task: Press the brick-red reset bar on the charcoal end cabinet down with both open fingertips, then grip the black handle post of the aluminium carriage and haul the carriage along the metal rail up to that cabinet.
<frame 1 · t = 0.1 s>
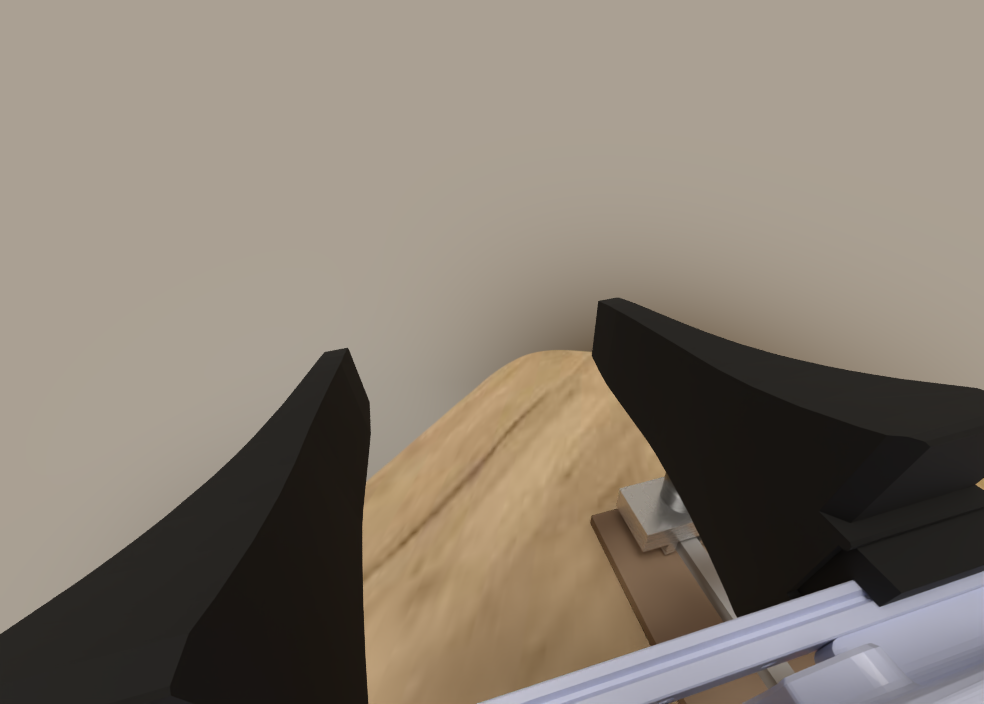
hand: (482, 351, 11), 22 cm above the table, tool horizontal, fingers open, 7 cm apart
rail stand: (742, 648, 21), on the table
carriage: (680, 494, 24), point 5 cm above the table, slide at 9.0 cm
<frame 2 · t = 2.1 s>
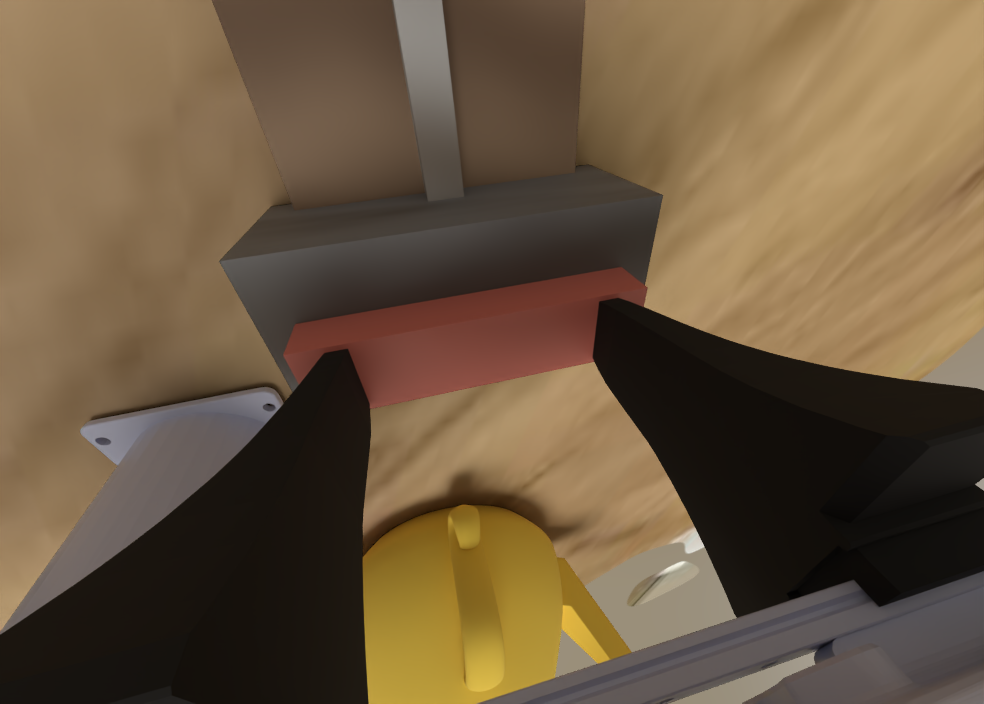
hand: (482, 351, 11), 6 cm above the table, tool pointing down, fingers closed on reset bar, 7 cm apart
rail stand: (417, 45, 11), on the table
reset bar: (476, 339, 11), point 6 cm above the table, slide at -1.3 cm, touching gripper
teapot: (472, 539, 30), on the table
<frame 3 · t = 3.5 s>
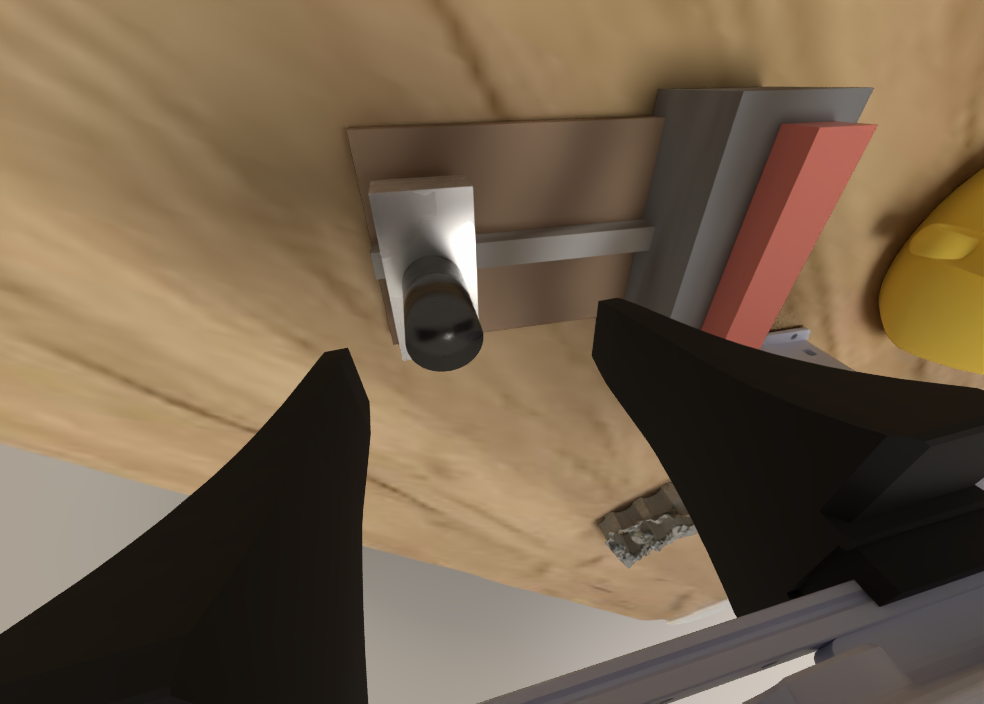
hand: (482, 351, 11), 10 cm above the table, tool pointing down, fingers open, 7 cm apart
egg carton: (643, 506, 41), on the table
rail stand: (560, 231, 19), on the table
reset bar: (766, 259, 16), point 6 cm above the table, slide at -1.3 cm
carriage: (434, 288, 14), point 5 cm above the table, slide at 9.0 cm
teapot: (980, 215, 26), on the table
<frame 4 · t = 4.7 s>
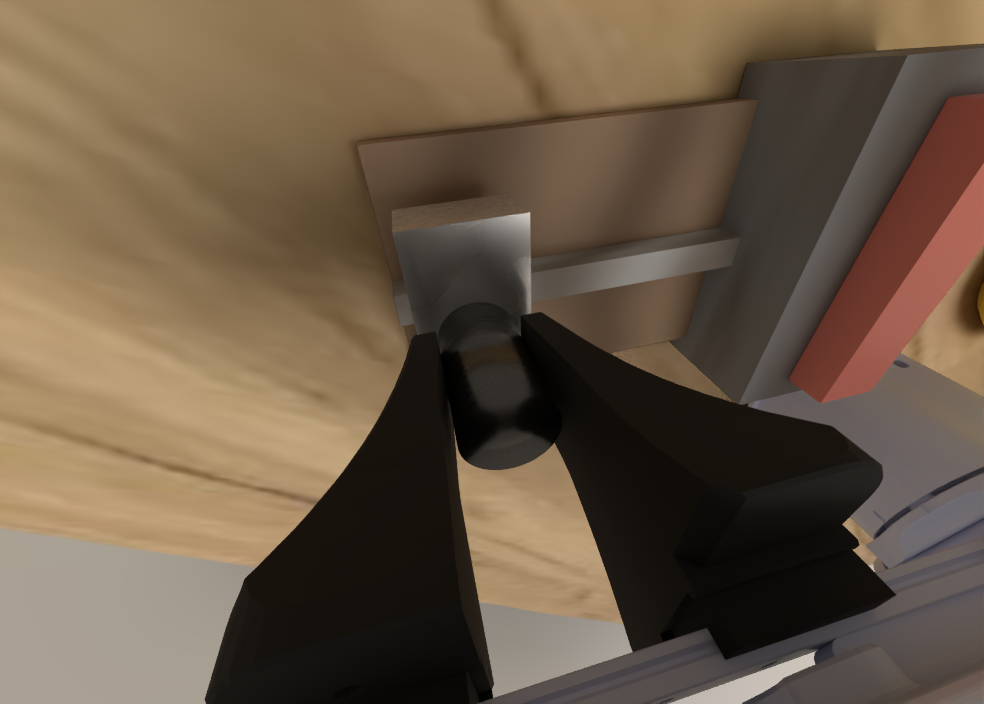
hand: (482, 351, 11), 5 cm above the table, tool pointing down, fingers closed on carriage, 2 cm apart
rail stand: (616, 247, 16), on the table
reset bar: (901, 275, 12), point 6 cm above the table, slide at -1.3 cm
carriage: (479, 343, 11), point 5 cm above the table, slide at 9.0 cm, touching gripper
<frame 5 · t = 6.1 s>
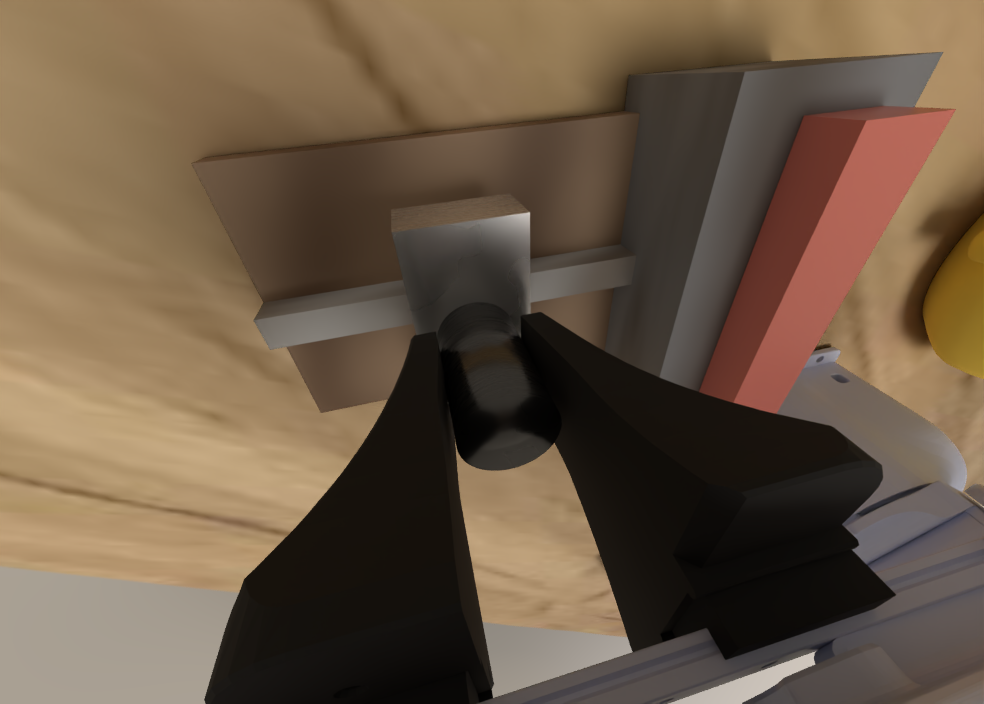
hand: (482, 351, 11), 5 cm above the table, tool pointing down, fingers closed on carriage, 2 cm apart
rail stand: (517, 264, 15), on the table
reset bar: (786, 299, 12), point 6 cm above the table, slide at -1.3 cm
carriage: (478, 343, 11), point 5 cm above the table, slide at 4.5 cm, touching gripper
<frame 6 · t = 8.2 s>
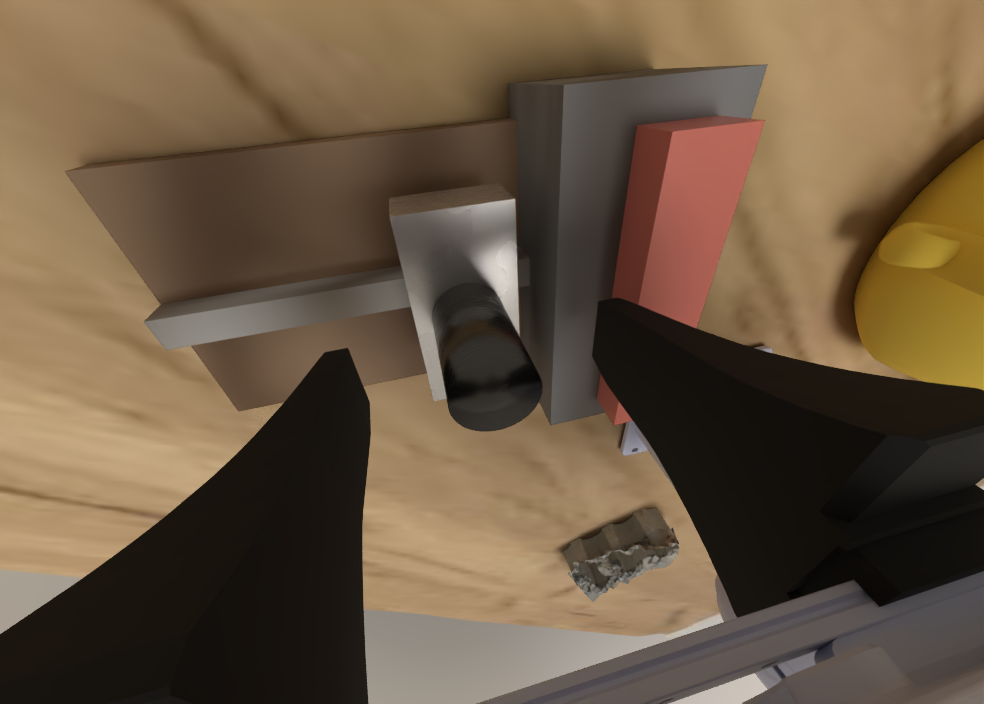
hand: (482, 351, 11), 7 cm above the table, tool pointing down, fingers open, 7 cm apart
egg carton: (612, 533, 37), on the table
rail stand: (424, 266, 16), on the table
reset bar: (656, 300, 12), point 6 cm above the table, slide at -1.3 cm
carriage: (470, 321, 12), point 5 cm above the table, slide at 0.8 cm
teapot: (971, 203, 21), on the table
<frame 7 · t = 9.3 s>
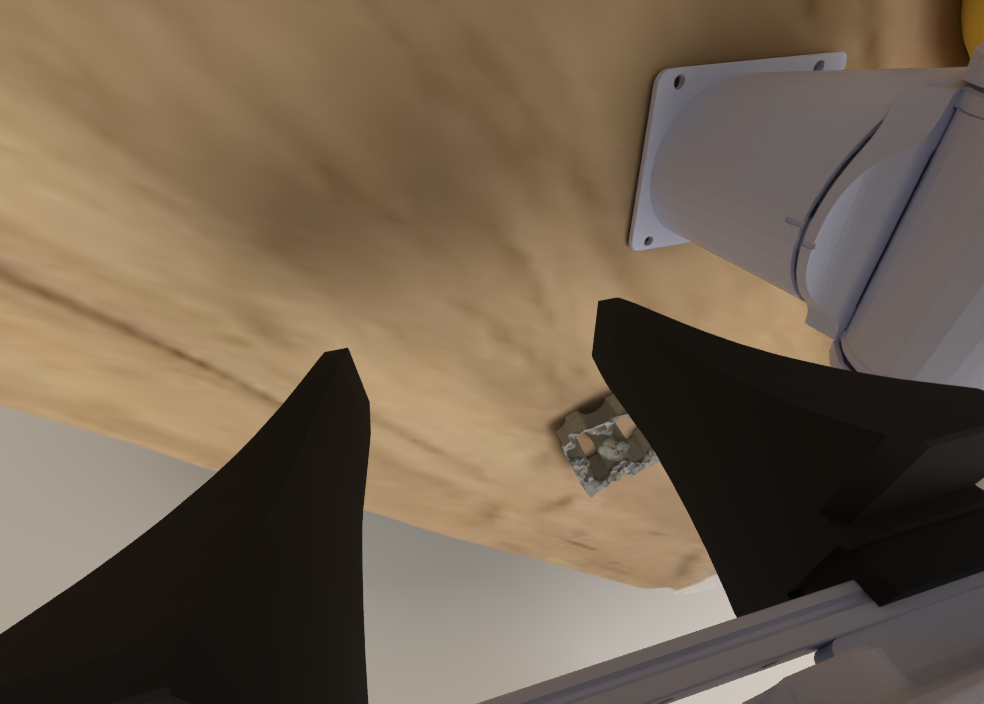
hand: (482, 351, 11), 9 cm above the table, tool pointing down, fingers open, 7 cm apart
egg carton: (617, 415, 30), on the table
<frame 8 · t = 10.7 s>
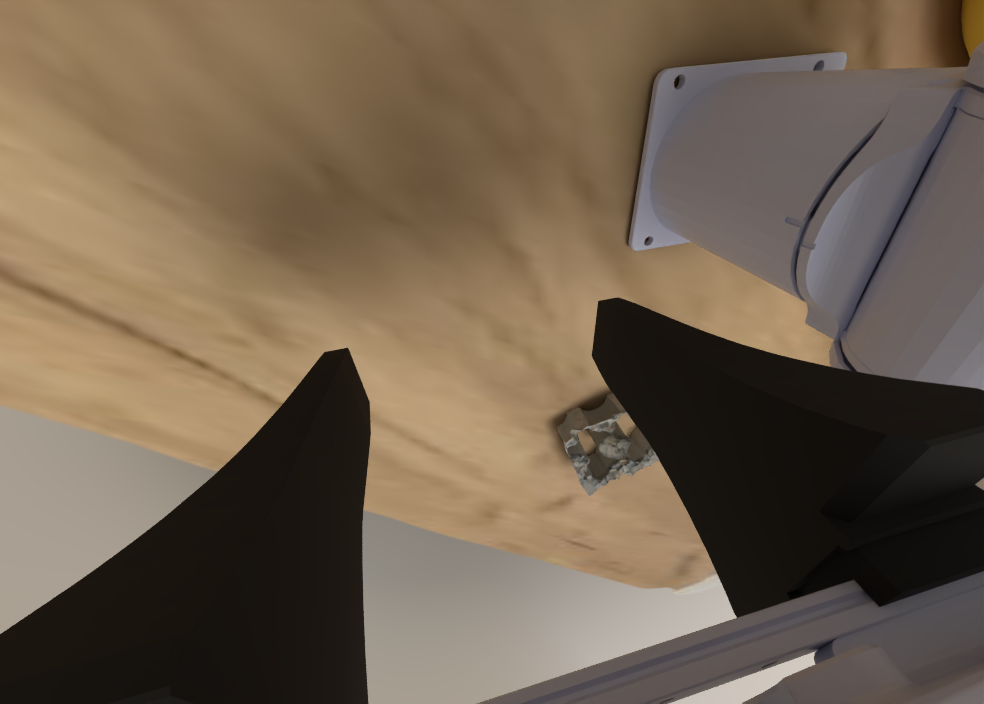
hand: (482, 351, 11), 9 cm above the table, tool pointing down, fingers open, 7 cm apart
egg carton: (617, 413, 30), on the table
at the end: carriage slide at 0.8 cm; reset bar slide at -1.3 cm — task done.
